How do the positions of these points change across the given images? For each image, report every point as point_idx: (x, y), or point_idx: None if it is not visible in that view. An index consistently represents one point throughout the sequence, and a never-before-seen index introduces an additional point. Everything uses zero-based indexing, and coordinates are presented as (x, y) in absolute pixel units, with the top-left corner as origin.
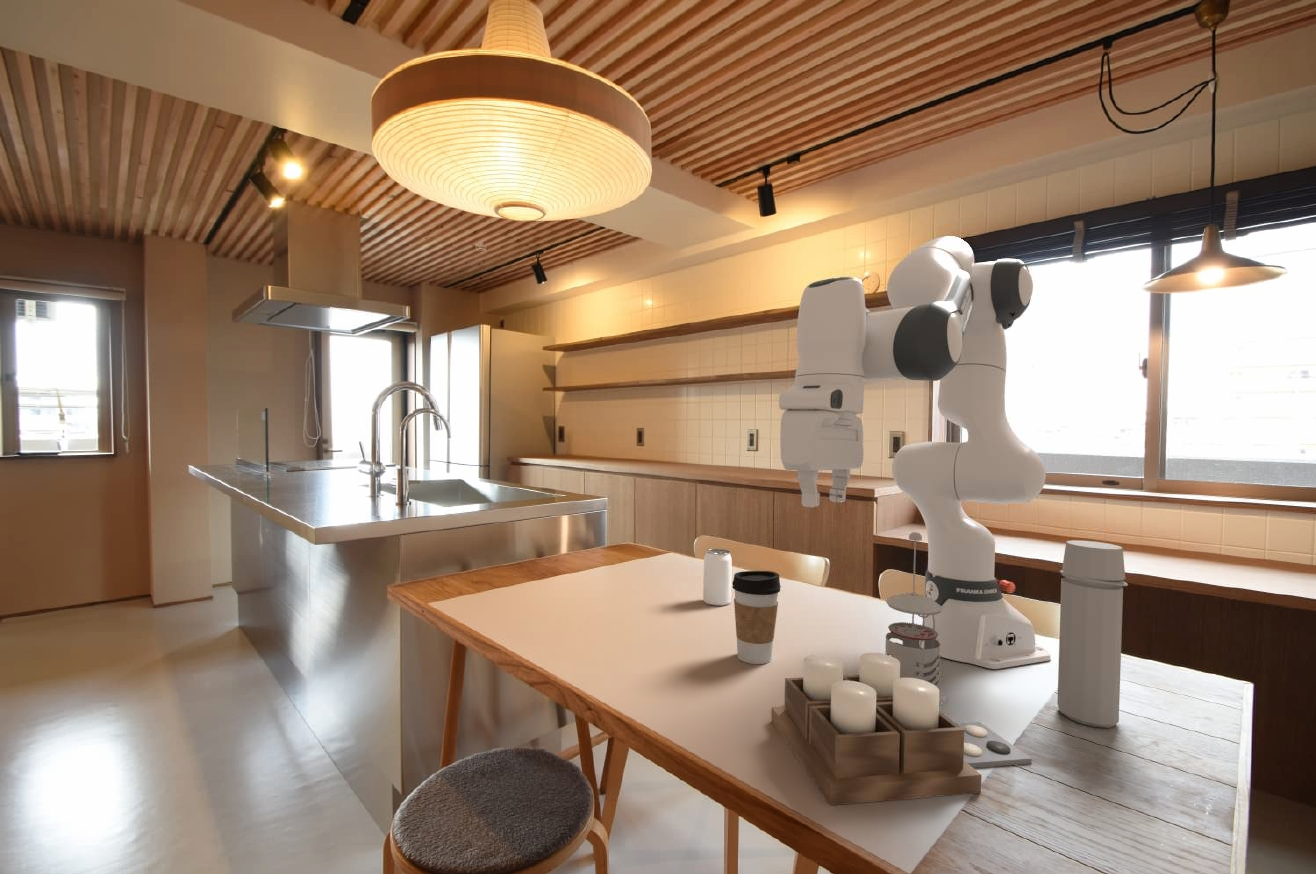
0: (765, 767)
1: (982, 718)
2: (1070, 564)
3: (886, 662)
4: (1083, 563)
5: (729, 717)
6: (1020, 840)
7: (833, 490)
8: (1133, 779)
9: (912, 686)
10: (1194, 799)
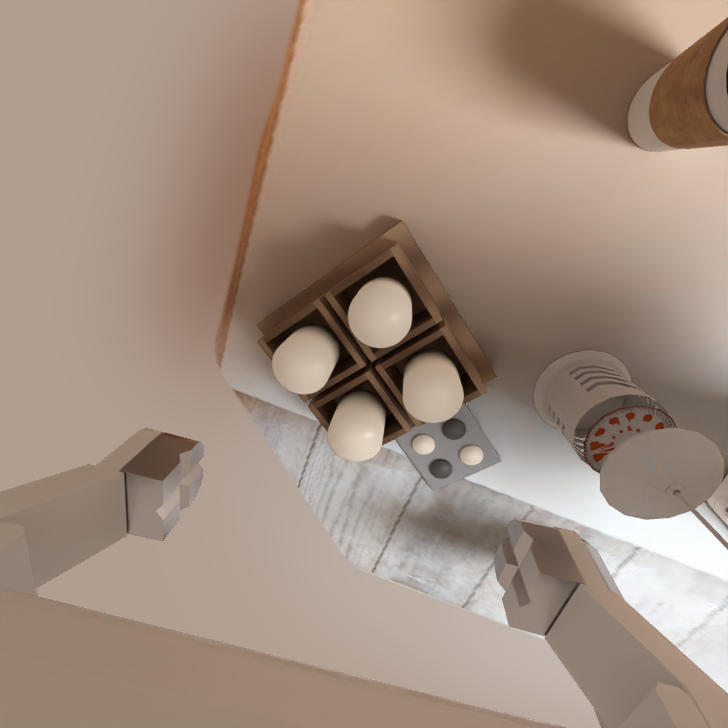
0: (291, 242)
1: (524, 463)
2: None
3: (426, 405)
4: None
5: (387, 155)
6: (302, 457)
7: (527, 582)
8: (441, 551)
9: (352, 434)
10: (427, 577)
